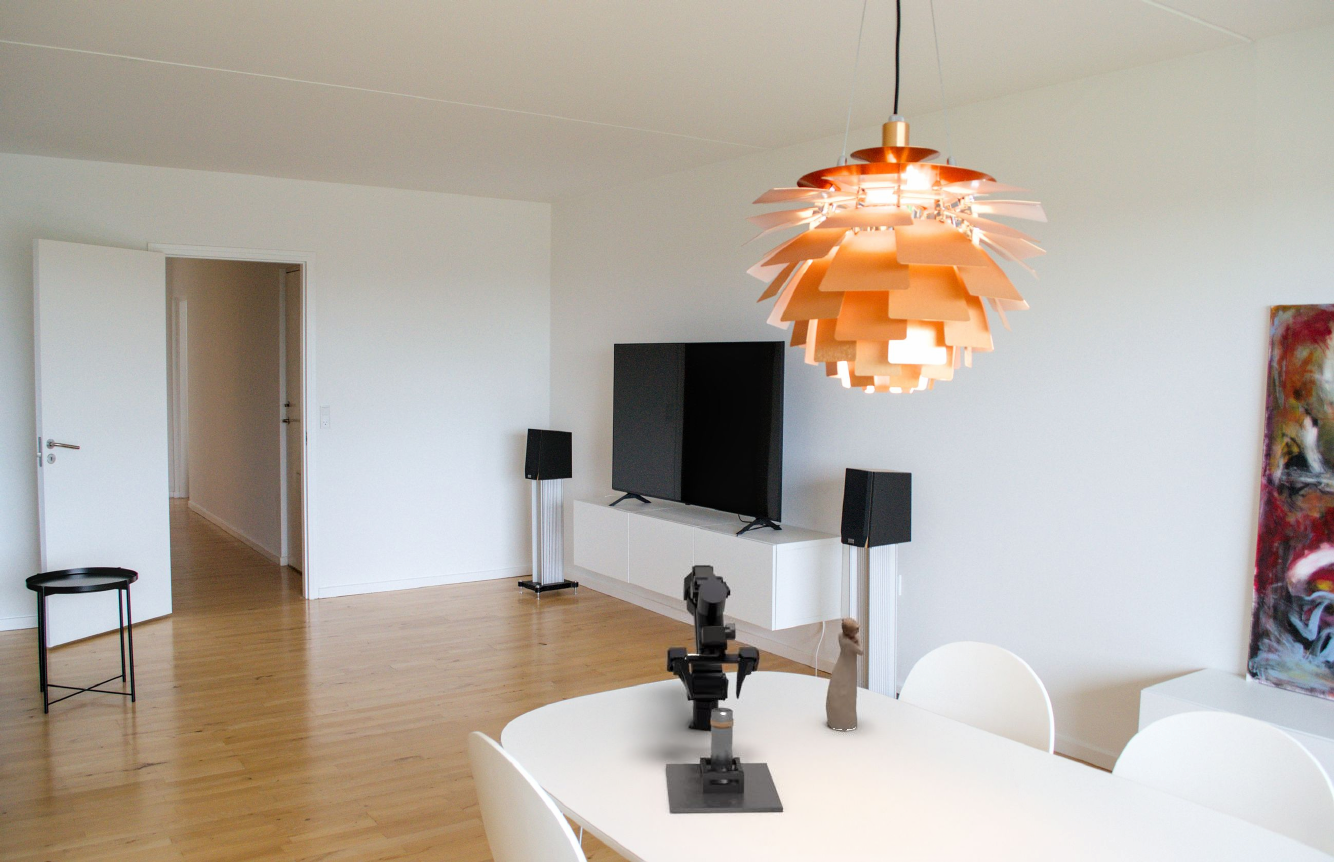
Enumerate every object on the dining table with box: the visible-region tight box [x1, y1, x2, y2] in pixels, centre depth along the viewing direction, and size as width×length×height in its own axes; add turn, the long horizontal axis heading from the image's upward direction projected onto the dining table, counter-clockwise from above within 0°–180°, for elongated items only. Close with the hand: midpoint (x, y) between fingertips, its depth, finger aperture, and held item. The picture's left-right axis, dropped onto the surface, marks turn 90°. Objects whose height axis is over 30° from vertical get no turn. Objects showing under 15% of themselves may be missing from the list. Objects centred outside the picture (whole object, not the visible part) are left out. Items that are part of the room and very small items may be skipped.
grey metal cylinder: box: [710, 707, 735, 783], centre depth 181 cm, size 4×4×14 cm
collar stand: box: [665, 756, 784, 814], centre depth 181 cm, size 20×20×4 cm
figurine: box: [825, 617, 864, 730], centre depth 215 cm, size 8×8×25 cm
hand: (714, 697), depth 192 cm, fingers open, 9 cm apart
